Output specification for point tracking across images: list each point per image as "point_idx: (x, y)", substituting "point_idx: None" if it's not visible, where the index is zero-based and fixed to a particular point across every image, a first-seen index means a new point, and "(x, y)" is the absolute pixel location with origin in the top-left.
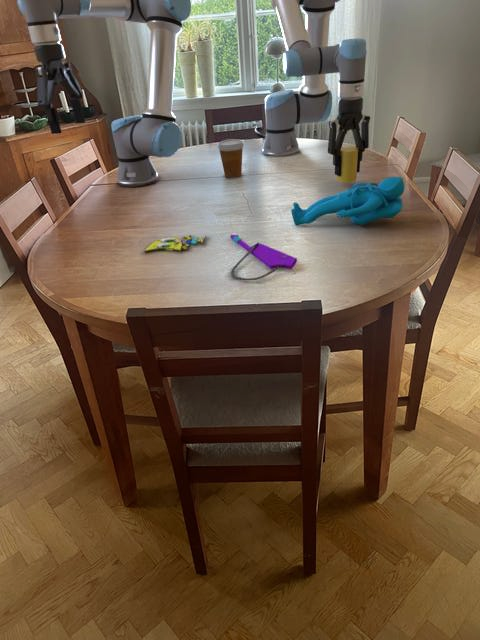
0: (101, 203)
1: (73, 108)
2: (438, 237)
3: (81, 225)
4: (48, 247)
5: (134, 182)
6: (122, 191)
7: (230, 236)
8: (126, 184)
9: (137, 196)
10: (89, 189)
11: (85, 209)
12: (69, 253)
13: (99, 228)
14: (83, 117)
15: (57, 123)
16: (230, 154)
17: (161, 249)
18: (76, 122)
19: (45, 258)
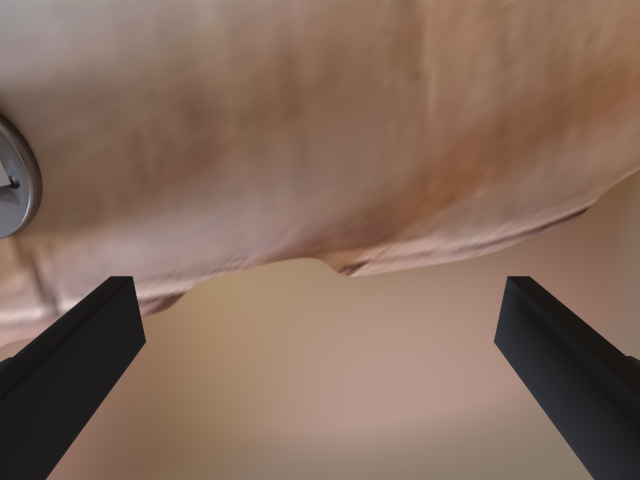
0: (201, 201)
1: (70, 429)
2: None
3: (381, 174)
4: (530, 189)
5: (19, 154)
6: (82, 182)
7: None
8: (34, 185)
9: (118, 100)
10: None
11: (256, 227)
12: (582, 104)
13: (407, 102)
14: (94, 298)
15: (582, 320)
16: None
17: None
18: (141, 341)
19: (602, 158)
